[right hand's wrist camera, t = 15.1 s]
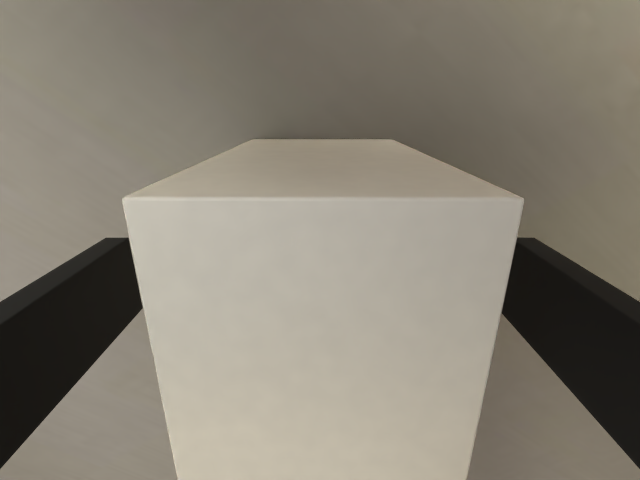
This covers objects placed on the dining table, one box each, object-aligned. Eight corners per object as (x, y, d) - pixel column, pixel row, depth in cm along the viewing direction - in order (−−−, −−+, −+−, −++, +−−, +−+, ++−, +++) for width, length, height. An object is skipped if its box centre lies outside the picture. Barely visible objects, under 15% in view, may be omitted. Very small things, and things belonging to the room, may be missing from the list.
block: (382, 289, 19) (460, 518, 9) (260, 288, 19) (184, 517, 9) (393, 139, 17) (527, 197, 6) (251, 139, 17) (118, 197, 6)
